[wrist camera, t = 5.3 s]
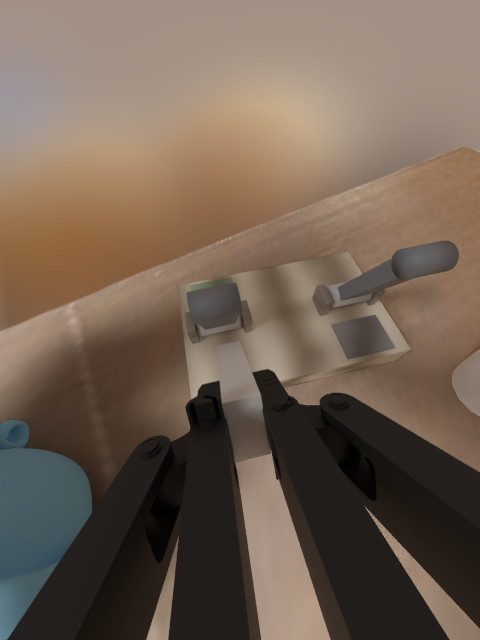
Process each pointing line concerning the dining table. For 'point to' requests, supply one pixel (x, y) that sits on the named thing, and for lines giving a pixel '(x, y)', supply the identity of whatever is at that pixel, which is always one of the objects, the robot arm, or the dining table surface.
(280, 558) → the dining table surface
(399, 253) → the lever
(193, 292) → the lever
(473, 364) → the foam cup
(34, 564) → the decorative pot
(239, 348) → the robot arm
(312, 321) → the switch base
